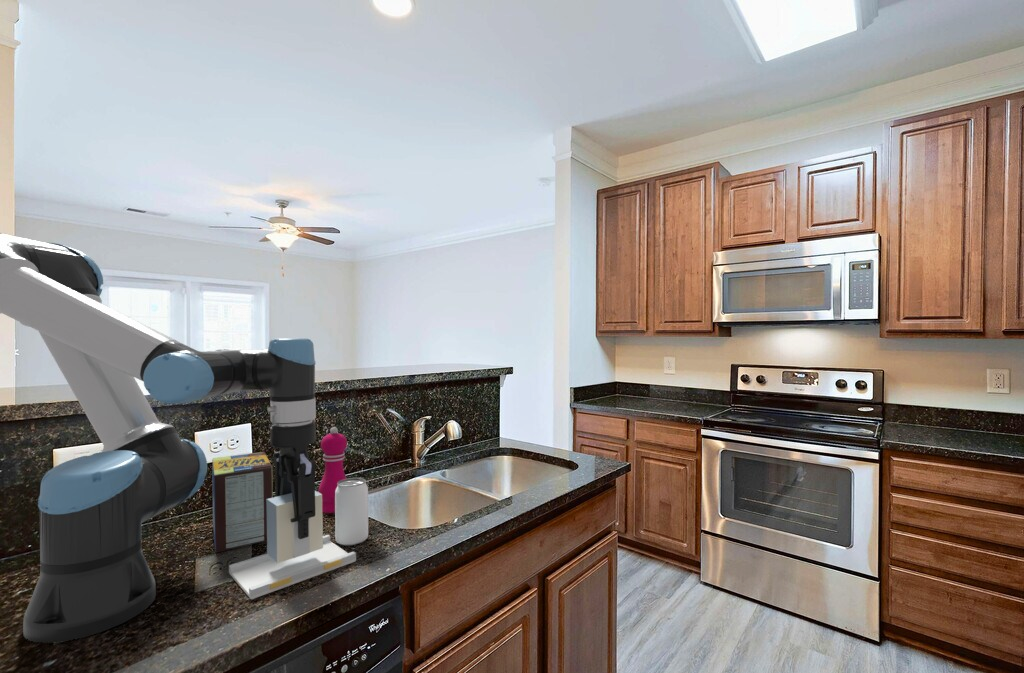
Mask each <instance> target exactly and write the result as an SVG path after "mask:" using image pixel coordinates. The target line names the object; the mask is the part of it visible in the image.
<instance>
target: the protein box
mask: <svg viewBox="0 0 1024 673" xmlns="http://www.w3.org/2000/svg"><path fill="white" fill-rule="evenodd" d="M211 465H212V466H211V469H212V470H211V472H212V473H211V476H212V479H211V480H212V481H211V482H212V484H211V485H212V487H211V488H212V493H211V494H212V500H211V501H212V528H213V541H214V543H213V544H214V553H221V552H224V551H229V550H233V549H238V548H242V547H247V546H252V545H256V544H260V543H265V542H266V543H267V502H266V499H269V498H273V496H274V495H273V494H274V491H273V465H272V464H271V462H270V460H269V458H268V457H267V454H266V453H265V451H260V452H251V453H244V454H236V455H227V456H226V455H225V456H221V457H219V456H218V457H213V458H212V464H211Z"/></svg>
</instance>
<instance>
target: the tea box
mask: <svg viewBox="0 0 1024 673" xmlns="http://www.w3.org/2000/svg"><path fill="white" fill-rule="evenodd" d="M322 501H323V500H322V494H321V493H319V491H316V490H315V516H314V517H311V518H309V530H310V552H313V551H316V550H319V549H322V548H323V536H324V531H323V530H324V527H323V525H324V524H323V523H324V522H323V520H324V519H323V512H322ZM266 502H267V541H266V554H267V555H269V556H270V557H271V558H272V559H273V560H274V561H275V562H276V563H280V562H283V561H286V560H289V559H292V558H294V557H293V535H292V522H291V520H290V519H292V518H295V516H294V507H293V498H292V493H290V494H286V495H281V496H277V497H275V496H274V497H273V498H269V499H266Z"/></svg>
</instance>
